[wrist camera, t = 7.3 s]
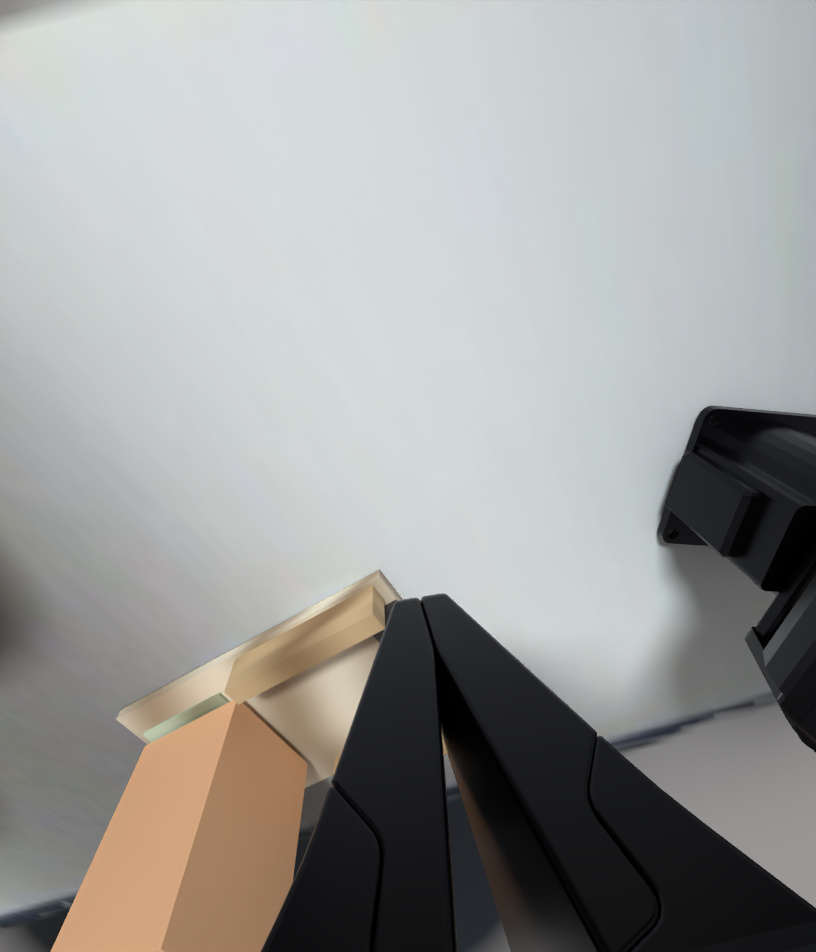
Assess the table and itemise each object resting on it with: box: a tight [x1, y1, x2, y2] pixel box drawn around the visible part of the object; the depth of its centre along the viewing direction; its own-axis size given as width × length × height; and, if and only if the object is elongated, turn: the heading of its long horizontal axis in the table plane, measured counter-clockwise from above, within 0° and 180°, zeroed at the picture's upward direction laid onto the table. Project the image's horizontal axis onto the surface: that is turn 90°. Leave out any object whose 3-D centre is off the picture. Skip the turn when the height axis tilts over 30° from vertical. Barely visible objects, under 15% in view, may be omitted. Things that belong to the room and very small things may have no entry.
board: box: [116, 570, 448, 788], centre depth 26 cm, size 16×10×3 cm, turn 121°
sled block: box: [51, 700, 308, 952], centre depth 23 cm, size 6×6×10 cm
